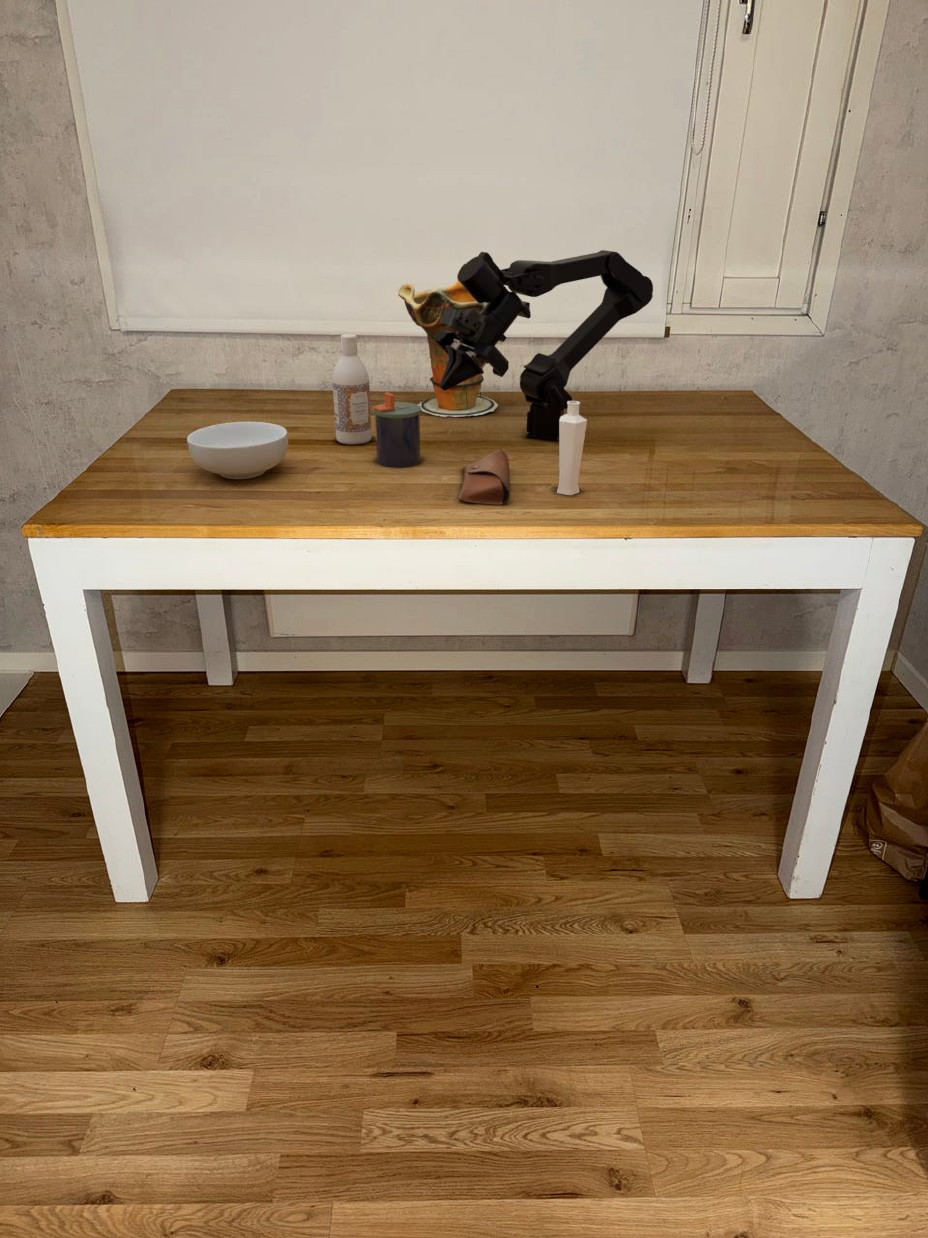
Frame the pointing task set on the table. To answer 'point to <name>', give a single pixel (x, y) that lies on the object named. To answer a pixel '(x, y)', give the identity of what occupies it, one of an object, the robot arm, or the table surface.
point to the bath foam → (351, 395)
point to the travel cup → (398, 435)
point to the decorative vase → (428, 315)
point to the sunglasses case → (487, 480)
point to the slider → (386, 403)
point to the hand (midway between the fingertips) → (441, 388)
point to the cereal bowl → (238, 448)
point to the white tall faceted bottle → (570, 448)
